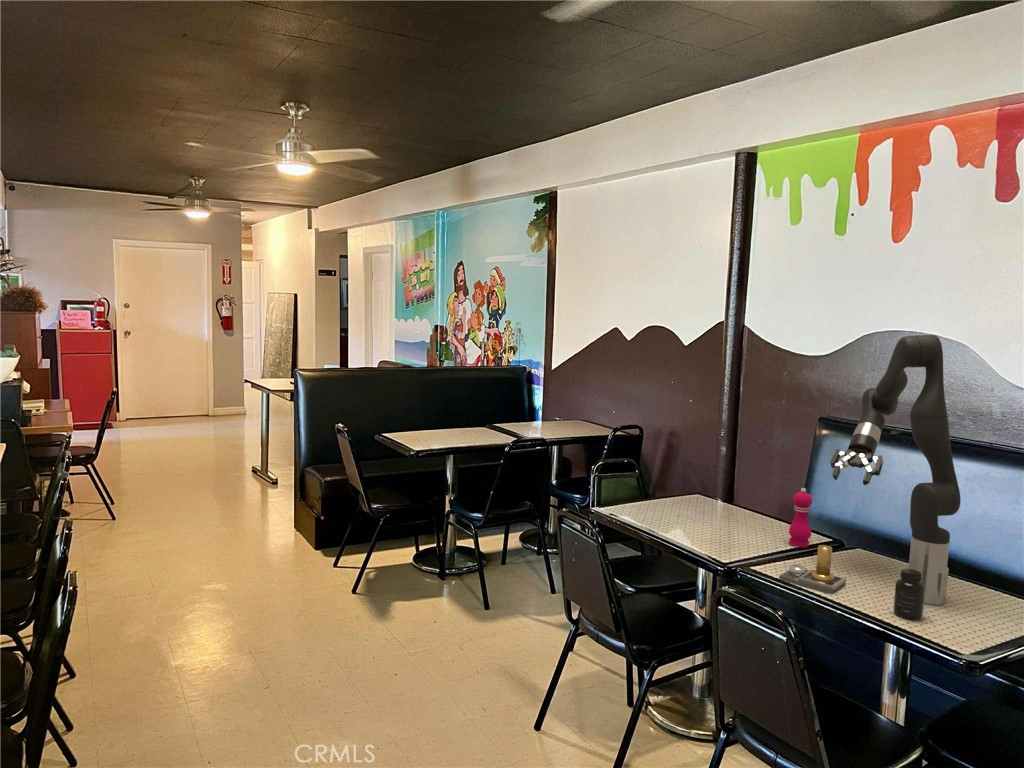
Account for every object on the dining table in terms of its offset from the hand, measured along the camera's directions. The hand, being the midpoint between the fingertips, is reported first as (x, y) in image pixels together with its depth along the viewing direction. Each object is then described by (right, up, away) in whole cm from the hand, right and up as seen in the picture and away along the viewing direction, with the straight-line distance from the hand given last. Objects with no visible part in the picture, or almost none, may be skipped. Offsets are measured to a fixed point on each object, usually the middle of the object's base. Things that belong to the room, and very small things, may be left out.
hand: (849, 481), depth 220 cm
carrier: (-14, -29, -7) cm, 33 cm away
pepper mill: (-4, -26, +29) cm, 39 cm away
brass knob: (-12, -28, -9) cm, 32 cm away
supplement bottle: (+2, -32, -29) cm, 43 cm away
